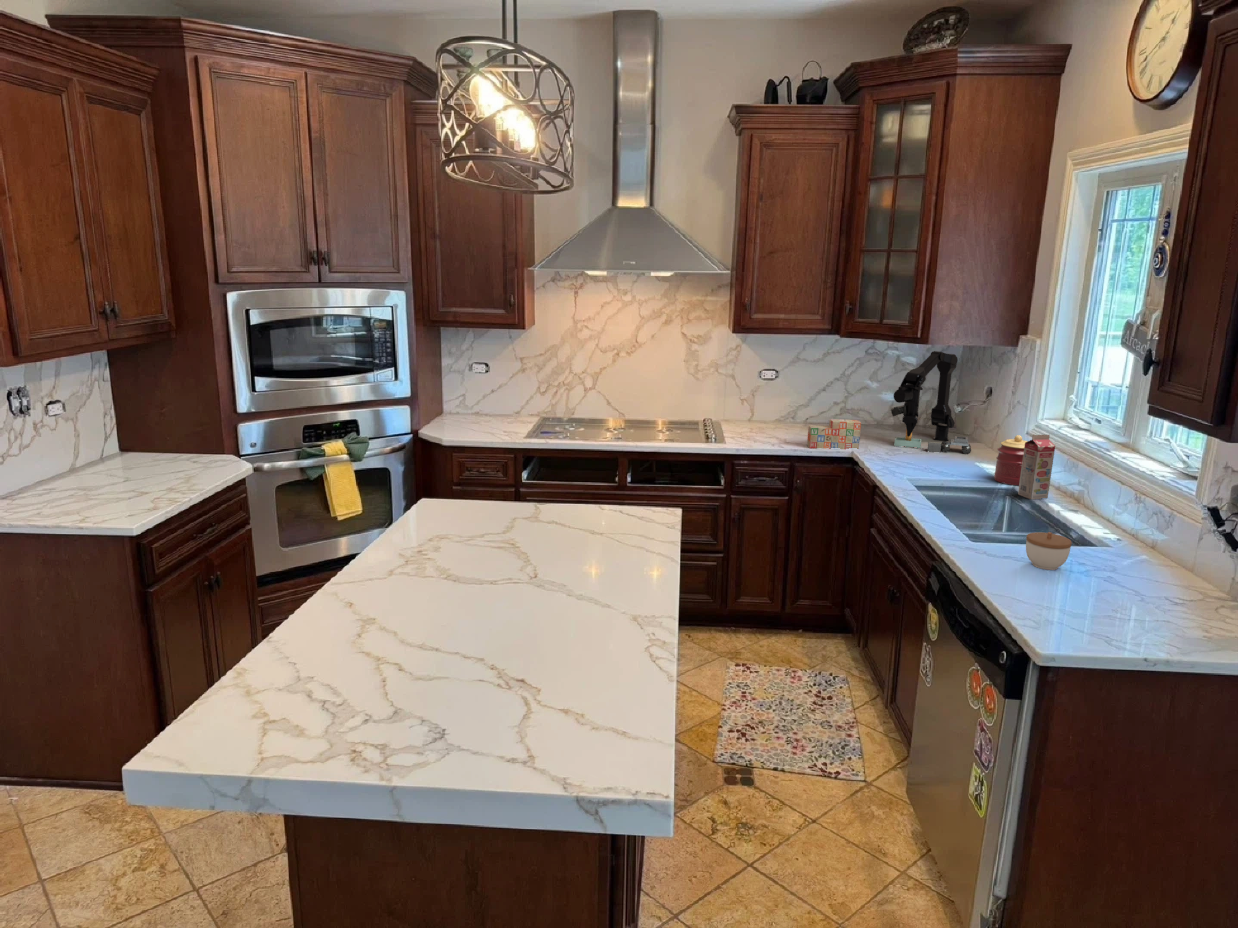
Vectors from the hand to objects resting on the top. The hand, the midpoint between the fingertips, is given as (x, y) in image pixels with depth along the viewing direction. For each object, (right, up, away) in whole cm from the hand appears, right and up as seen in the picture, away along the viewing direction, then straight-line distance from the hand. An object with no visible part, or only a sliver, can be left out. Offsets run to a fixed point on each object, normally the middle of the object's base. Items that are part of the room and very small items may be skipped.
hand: (908, 435), depth 365 cm
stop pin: (0, -2, +1) cm, 2 cm away
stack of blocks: (-35, -6, -4) cm, 36 cm away
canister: (+19, -19, -57) cm, 63 cm away
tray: (0, -5, +1) cm, 5 cm away
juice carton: (+16, -24, -77) cm, 82 cm away
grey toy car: (+17, -7, -8) cm, 20 cm away
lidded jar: (-14, -40, -145) cm, 151 cm away
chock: (+8, -7, -8) cm, 14 cm away
